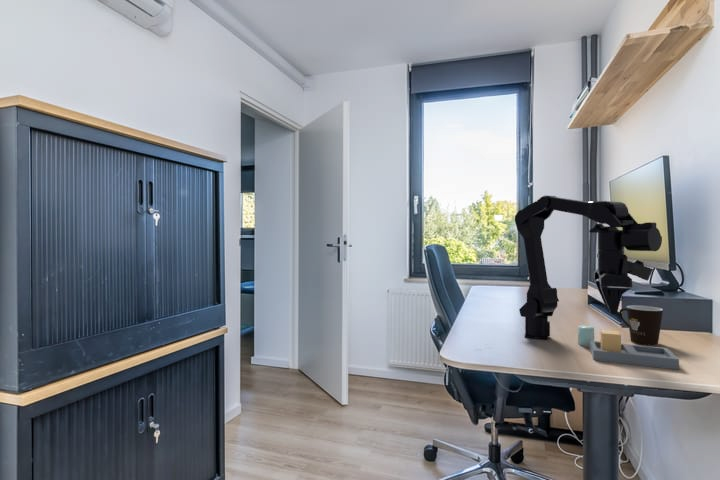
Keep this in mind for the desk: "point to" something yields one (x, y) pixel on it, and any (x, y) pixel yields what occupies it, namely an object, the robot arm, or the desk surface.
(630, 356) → the organizer
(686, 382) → the desk surface
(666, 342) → the desk surface
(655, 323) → the coffee mug
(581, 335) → the teal capsule
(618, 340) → the ochre block
